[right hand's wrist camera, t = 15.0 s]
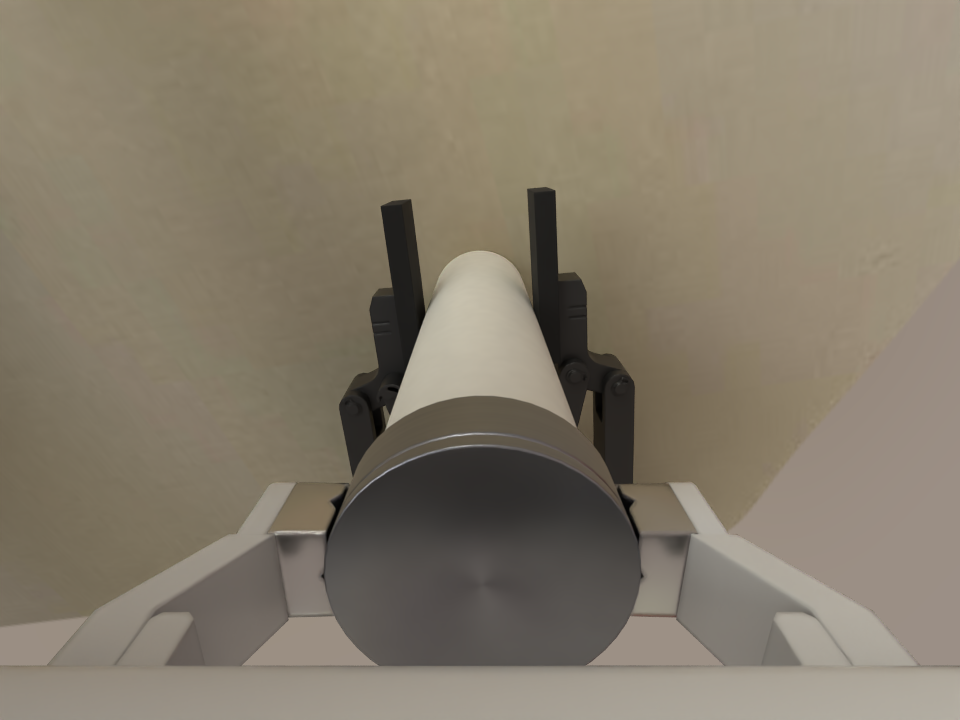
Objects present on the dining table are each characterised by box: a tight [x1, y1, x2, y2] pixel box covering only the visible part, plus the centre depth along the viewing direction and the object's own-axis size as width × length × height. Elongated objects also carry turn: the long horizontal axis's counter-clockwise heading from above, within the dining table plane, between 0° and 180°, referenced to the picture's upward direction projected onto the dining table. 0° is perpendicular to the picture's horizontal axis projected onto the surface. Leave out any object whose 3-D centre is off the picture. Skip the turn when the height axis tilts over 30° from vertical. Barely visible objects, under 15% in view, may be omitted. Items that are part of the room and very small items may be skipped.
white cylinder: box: [385, 251, 577, 430], centre depth 18 cm, size 5×5×20 cm
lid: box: [324, 396, 641, 666], centre depth 10 cm, size 5×5×2 cm
